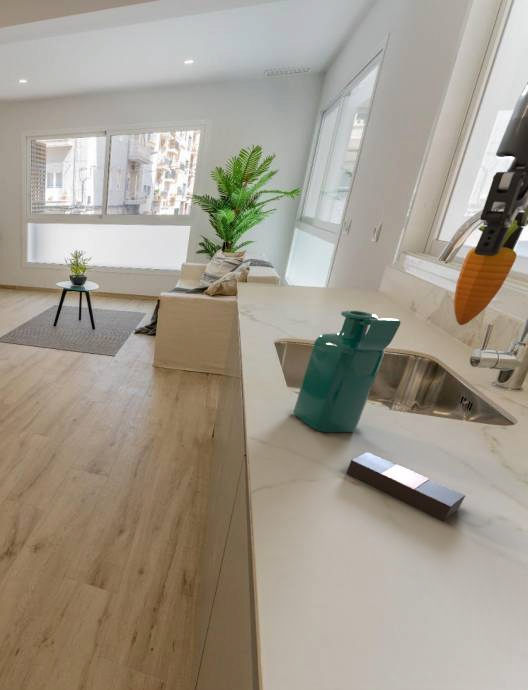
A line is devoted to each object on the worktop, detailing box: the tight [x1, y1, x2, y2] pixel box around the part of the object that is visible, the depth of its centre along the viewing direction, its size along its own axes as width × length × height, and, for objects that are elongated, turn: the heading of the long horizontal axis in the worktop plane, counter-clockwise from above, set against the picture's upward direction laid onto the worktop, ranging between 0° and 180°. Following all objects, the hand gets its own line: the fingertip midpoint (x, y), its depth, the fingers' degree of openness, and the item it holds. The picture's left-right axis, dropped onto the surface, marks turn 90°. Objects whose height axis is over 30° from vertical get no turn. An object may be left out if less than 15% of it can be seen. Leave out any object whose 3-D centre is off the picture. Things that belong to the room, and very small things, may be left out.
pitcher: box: [293, 309, 401, 433], centre depth 77 cm, size 10×8×22 cm
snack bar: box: [346, 451, 466, 522], centre depth 63 cm, size 5×12×3 cm, turn 29°
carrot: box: [453, 220, 518, 326], centre depth 61 cm, size 5×5×15 cm
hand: (492, 253), depth 59 cm, fingers closed on carrot, 5 cm apart
